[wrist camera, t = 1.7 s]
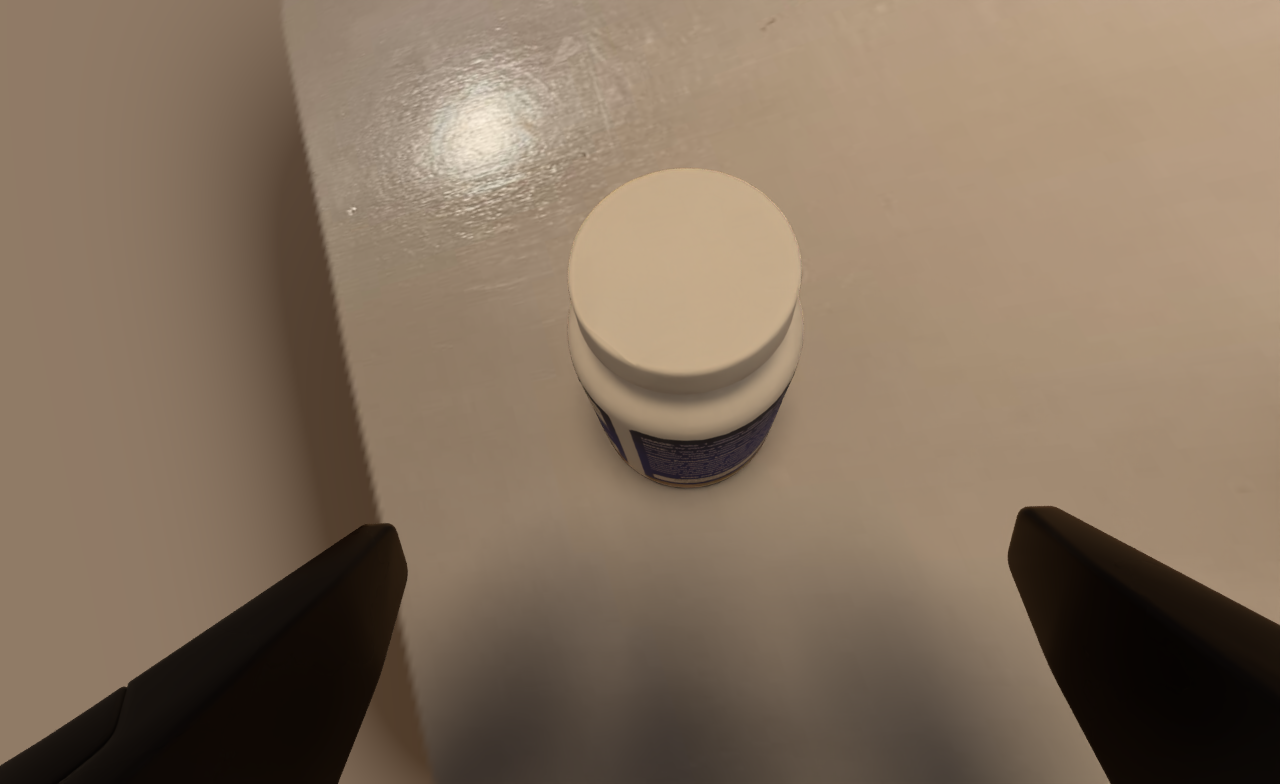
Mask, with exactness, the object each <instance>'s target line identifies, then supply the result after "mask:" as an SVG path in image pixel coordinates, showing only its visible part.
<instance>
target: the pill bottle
mask: <svg viewBox="0 0 1280 784" xmlns="http://www.w3.org/2000/svg"><path fill="white" fill-rule="evenodd" d="M801 279H802V262H801V256H800V250H799V246H798V243H797V240H796V237H795V234H794V232H793V230H792V228H791V226H790V224H789V222H788V221H787V219H786V217H785V216H784V214H783V213H782V211H781V210H780V209H779V208H778V207H777V206H776V205H775V204H774V202H773V201H772V200H770V199H769V198H768V197H767V196H766V195H765V194H764V193H762V192H761V191H760V190H758V189H757V188H756V187H754V186H752V185H750V184H748V183H747V182H745V181H743V180H741V179H738V178H736V177H734V176H731V175H728V174H725V173H722V172H719V171H713V170H707V169H697V168H676V169H667V170H663V171H657V172H653V173H650V174H647V175H644V176H641V177H639V178H636V179H634V180H632V181H630V182H628V183H626V184H624V185H622V186H620V187H619V188H617V189H616V190H614V191H613V192H612V193H610V194H609V195H608V196H607V197H605V198H604V199H603V200H602V201H601V202H600V203H599V204H598V205H596V207H595V208H594V209H593V210H592V211H591V213H590V214H589V215H588V217H587V218H586V219H585V221H584V222H583V224H582V226H581V227H580V229H579V231H578V233H577V235H576V237H575V240H574V243H573V245H572V249H571V253H570V258H569V264H568V289H569V295H570V300H571V305H570V310H569V316H568V344H569V350H570V354H571V359H572V362H573V366H574V368H575V371H576V374H577V376H578V378H579V381H580V382H581V384H582V386H583V388H584V390H585V392H586V394H587V396H588V398H589V400H590V402H591V404H592V406H593V408H594V410H595V412H596V414H597V416H598V418H599V420H600V422H601V424H602V427H603V428H604V431H605V432H606V434H607V436H608V438H609V440H610V442H611V443H612V445H613V447H614V448H615V449H616V451H617V452H618V454H619V455H620V456H621V457H622V459H623V460H624V461H625V462H626V463H627V464H628V465H630V466H631V467H632V468H633V469H634V470H636V471H637V472H638V473H640V474H642V475H643V476H645V477H647V478H649V479H651V480H653V481H656V482H658V483H661V484H665V485H668V486H673V487H683V488H690V487H701V486H707V485H711V484H714V483H717V482H719V481H722V480H724V479H726V478H728V477H730V476H732V475H733V474H735V473H737V472H738V471H739V470H741V469H742V468H743V467H744V466H745V465H746V464H748V463H749V462H750V461H751V459H752V458H753V457H754V456H755V455H756V453H757V452H758V451H759V449H760V448H761V446H762V445H763V443H764V441H765V439H766V437H767V435H768V433H769V430H770V428H771V426H772V423H773V421H774V419H775V417H776V414H777V412H778V409H779V407H780V405H781V402H782V400H783V397H784V395H785V393H786V391H787V389H788V387H789V384H790V382H791V380H792V378H793V376H794V373H795V370H796V368H797V364H798V361H799V358H800V354H801V350H802V344H803V334H804V321H803V312H802V307H801V302H800V299H799V291H800V286H801Z"/></svg>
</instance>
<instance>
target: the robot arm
mask: <svg viewBox="0 0 1280 784" xmlns="http://www.w3.org/2000/svg"><path fill="white" fill-rule="evenodd" d="M1008 564H1009V568H1010V571H1011V573H1012V576H1013V578H1014V581H1015V583H1016V586H1017V588H1018V591H1019V593H1020V596H1021V598H1022V601H1023V603H1024V606H1025V608H1026V611H1027V613H1028V616H1029V618H1030V621H1031V623H1032V626H1033V628H1034V631H1035V633H1036V636H1037V638H1038V641H1039V643H1040V646H1041V648H1042V651H1043V653H1044V656H1045V658H1046V660H1047V662H1048V665H1049V667H1050V669H1051V671H1052V673H1053V675H1054V677H1055V679H1056V681H1057V683H1058V685H1059V687H1060V689H1061V691H1062V693H1063V695H1064V697H1065V698H1066V700H1067V702H1068V704H1069V706H1070V708H1071V710H1072V712H1073V714H1074V715H1075V717H1076V719H1077V721H1078V723H1079V725H1080V727H1081V729H1082V730H1083V732H1084V734H1085V736H1086V738H1087V740H1088V742H1089V744H1090V746H1091V747H1092V749H1093V751H1094V753H1095V755H1096V757H1097V759H1098V761H1099V762H1100V764H1101V766H1102V768H1103V770H1104V772H1105V774H1106V776H1107V778H1108V779H1109V781H1110V783H1111V784H1280V625H1278V624H1277V623H1275V622H1273V621H1271V620H1269V619H1267V618H1265V617H1263V616H1261V615H1260V614H1258V613H1256V612H1254V611H1252V610H1250V609H1248V608H1246V607H1244V606H1242V605H1241V604H1239V603H1237V602H1235V601H1233V600H1231V599H1229V598H1227V597H1225V596H1224V595H1222V594H1220V593H1218V592H1216V591H1214V590H1212V589H1210V588H1208V587H1207V586H1205V585H1203V584H1201V583H1199V582H1197V581H1195V580H1193V579H1191V578H1189V577H1188V576H1186V575H1184V574H1182V573H1180V572H1178V571H1176V570H1174V569H1172V568H1171V567H1169V566H1167V565H1165V564H1163V563H1161V562H1159V561H1157V560H1155V559H1154V558H1152V557H1150V556H1148V555H1146V554H1144V553H1142V552H1140V551H1138V550H1136V549H1135V548H1133V547H1131V546H1129V545H1127V544H1125V543H1123V542H1121V541H1119V540H1118V539H1116V538H1114V537H1112V536H1110V535H1108V534H1106V533H1104V532H1102V531H1101V530H1099V529H1097V528H1095V527H1093V526H1091V525H1089V524H1087V523H1085V522H1083V521H1082V520H1080V519H1078V518H1076V517H1074V516H1072V515H1070V514H1068V513H1066V512H1065V511H1063V510H1061V509H1059V508H1057V507H1053V506H1029V507H1024V508H1022V509H1021V510H1020V511H1019V513H1018V515H1017V519H1016V522H1015V526H1014V530H1013V534H1012V538H1011V542H1010V546H1009V550H1008ZM407 576H408V569H407V563H406V560H405V556H404V553H403V550H402V546H401V543H400V540H399V537H398V533H397V531H396V528H395V527H394V526H393V525H391V524H389V523H377V524H365V525H363V526H361V527H359V528H358V529H356V530H355V531H353V532H352V533H350V534H349V535H347V536H346V537H344V538H343V539H341V540H340V541H339V542H337V543H335V544H334V545H333V546H331V547H330V548H328V549H326V550H325V551H324V552H322V553H321V554H319V555H318V556H316V557H315V558H313V559H312V560H310V561H309V562H307V563H306V564H304V565H303V566H301V567H300V568H298V569H297V570H295V571H294V572H292V573H291V574H289V575H288V576H286V577H285V578H283V579H282V580H280V581H279V582H277V583H276V584H275V585H273V586H271V587H270V588H269V589H267V590H266V591H264V592H263V593H261V594H260V595H258V596H257V597H255V598H254V599H252V600H251V601H249V602H248V603H246V604H245V605H244V606H242V607H240V608H239V609H237V610H236V611H234V612H233V613H231V614H230V615H228V616H227V617H225V618H224V619H222V620H221V621H219V622H218V623H216V624H215V625H213V626H212V627H211V628H209V629H208V630H206V631H205V632H203V633H202V634H200V635H199V636H197V637H196V638H194V639H193V640H191V641H190V642H188V643H187V644H185V645H184V646H182V647H181V648H179V649H178V650H176V651H175V652H173V653H172V654H170V655H169V656H168V657H166V658H164V659H163V660H161V661H160V662H158V663H157V664H155V665H154V666H152V667H151V668H150V669H148V670H147V671H145V672H144V673H142V674H141V675H139V676H138V677H136V678H135V679H133V680H132V681H130V682H129V684H128V686H127V687H121V688H119V689H118V690H117V691H115V692H114V693H112V694H111V695H109V696H108V697H106V698H105V699H103V700H102V701H100V702H99V703H97V704H96V705H94V706H93V707H91V708H90V709H88V710H87V711H85V712H84V713H82V714H81V715H79V716H78V717H76V718H75V719H73V720H72V721H70V722H69V723H67V724H65V725H64V726H62V727H61V728H59V729H58V730H56V731H55V732H54V733H52V734H50V735H49V736H47V737H46V738H44V739H42V740H41V741H39V742H38V743H36V744H35V745H33V746H31V747H30V748H28V749H26V750H25V751H23V752H22V753H20V754H18V755H17V756H15V757H14V758H12V759H10V760H9V761H7V762H5V763H4V764H2V765H1V766H0V784H338V782H339V779H340V777H341V774H342V772H343V769H344V767H345V764H346V762H347V759H348V757H349V754H350V752H351V749H352V747H353V744H354V742H355V739H356V737H357V734H358V732H359V729H360V726H361V724H362V721H363V719H364V716H365V714H366V711H367V709H368V706H369V704H370V701H371V699H372V696H373V694H374V691H375V688H376V686H377V683H378V680H379V678H380V675H381V671H382V668H383V665H384V661H385V658H386V655H387V651H388V647H389V644H390V640H391V636H392V633H393V629H394V626H395V622H396V618H397V615H398V611H399V608H400V604H401V600H402V597H403V593H404V589H405V586H406V582H407Z"/></svg>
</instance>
